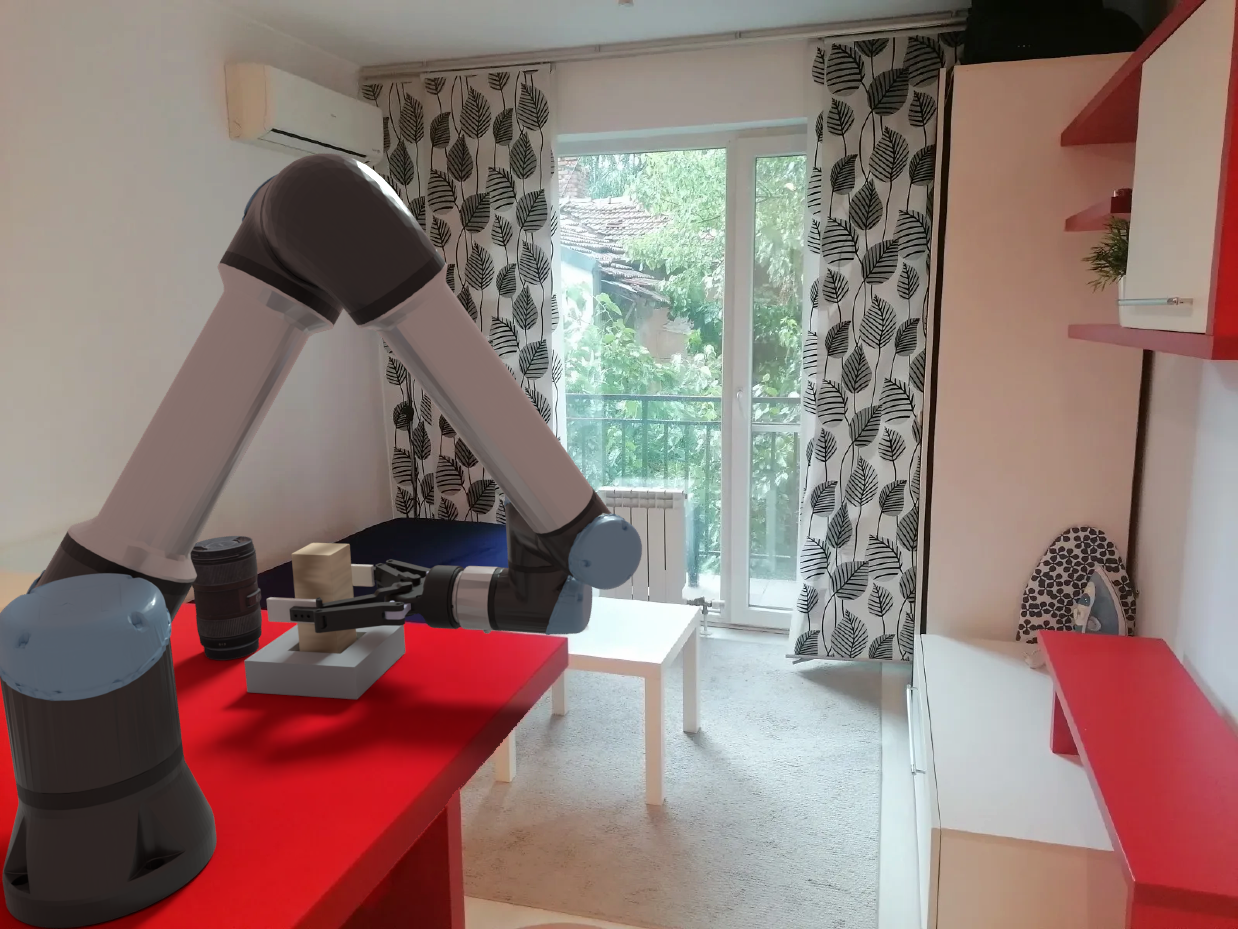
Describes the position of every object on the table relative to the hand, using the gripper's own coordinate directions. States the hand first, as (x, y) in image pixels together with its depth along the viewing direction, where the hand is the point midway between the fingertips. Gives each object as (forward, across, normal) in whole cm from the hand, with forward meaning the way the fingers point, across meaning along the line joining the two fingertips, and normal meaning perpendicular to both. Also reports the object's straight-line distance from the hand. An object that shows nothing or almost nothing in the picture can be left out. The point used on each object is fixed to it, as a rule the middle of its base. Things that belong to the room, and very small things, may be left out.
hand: (299, 590), depth 109 cm
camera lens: (+13, +5, -11) cm, 18 cm away
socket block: (-3, 0, -10) cm, 11 cm away
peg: (-3, 0, -10) cm, 11 cm away
